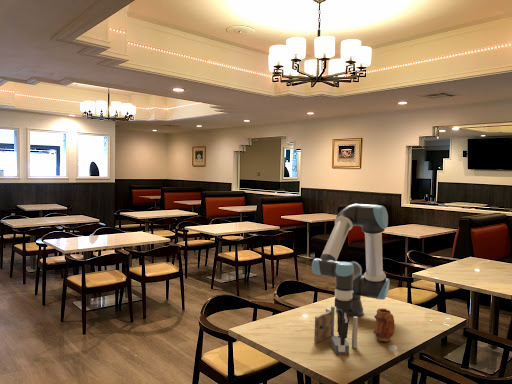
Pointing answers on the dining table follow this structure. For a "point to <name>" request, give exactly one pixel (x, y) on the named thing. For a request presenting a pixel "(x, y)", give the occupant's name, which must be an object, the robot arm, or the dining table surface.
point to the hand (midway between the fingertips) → (341, 351)
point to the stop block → (335, 345)
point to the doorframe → (354, 329)
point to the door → (323, 326)
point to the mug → (384, 325)
